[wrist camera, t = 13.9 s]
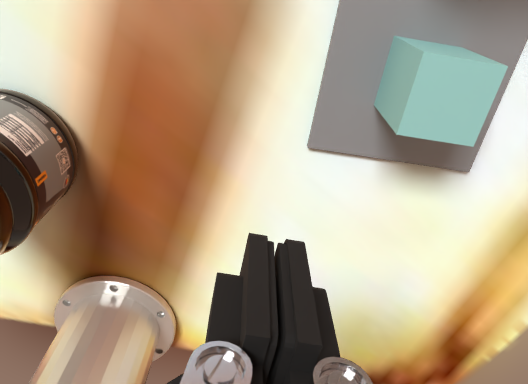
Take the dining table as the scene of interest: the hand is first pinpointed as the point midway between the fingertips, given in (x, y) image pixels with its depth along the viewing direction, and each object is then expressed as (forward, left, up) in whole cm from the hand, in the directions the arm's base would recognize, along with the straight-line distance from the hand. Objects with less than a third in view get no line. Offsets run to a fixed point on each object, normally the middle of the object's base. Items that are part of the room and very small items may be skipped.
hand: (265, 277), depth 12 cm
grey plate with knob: (+3, -11, -23) cm, 25 cm away
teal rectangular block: (+3, -11, -22) cm, 25 cm away
